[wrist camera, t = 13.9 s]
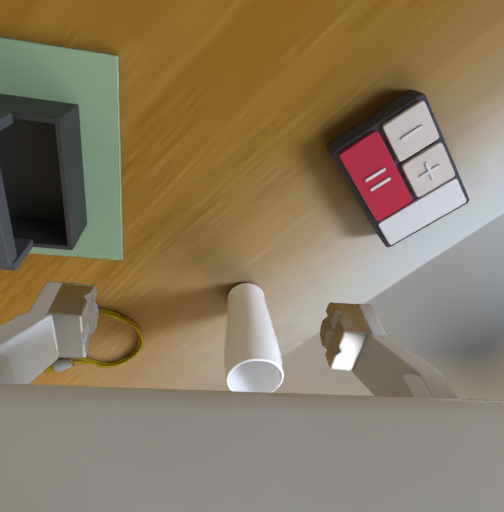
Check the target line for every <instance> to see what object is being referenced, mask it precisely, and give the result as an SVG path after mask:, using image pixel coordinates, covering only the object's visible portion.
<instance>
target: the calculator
mask: <svg viewBox="0 0 504 512" xmlns="http://www.w3.org/2000/svg"><path fill="white" fill-rule="evenodd" d="M327 148H328V151H329V152H330V154H331V156H332V158H333V159H334V161H335V163H336V164H337V166H338V168H339V169H340V171H341V173H342V175H343V176H344V178H345V180H346V181H347V183H348V185H349V186H350V188H351V190H352V192H353V193H354V195H355V197H356V198H357V200H358V202H359V204H360V205H361V207H362V209H363V210H364V212H365V214H366V216H367V218H368V219H369V221H370V223H371V224H372V226H373V228H374V230H375V231H376V233H377V234H378V236H379V237H380V239H381V240H382V242H383V243H384V244H385V246H386V247H391V246H393V245H394V244H396V243H398V242H400V241H401V240H403V239H405V238H407V237H408V236H410V235H412V234H414V233H416V232H417V231H419V230H421V229H423V228H424V227H426V226H428V225H430V224H431V223H433V222H435V221H437V220H438V219H440V218H442V217H444V216H446V215H447V214H449V213H451V212H453V211H454V210H456V209H458V208H460V207H461V206H463V205H465V204H467V203H468V201H469V198H468V195H467V193H466V191H465V188H464V186H463V183H462V181H461V179H460V176H459V174H458V171H457V169H456V167H455V164H454V162H453V160H452V157H451V155H450V152H449V150H448V148H447V145H446V143H445V140H444V138H443V136H442V133H441V131H440V128H439V126H438V124H437V121H436V119H435V117H434V114H433V112H432V109H431V107H430V105H429V102H428V100H427V98H426V95H425V94H423V93H420V92H417V91H414V90H410V91H408V92H407V93H405V94H404V95H402V96H401V97H399V98H398V99H396V100H395V101H393V102H392V103H390V104H389V105H387V106H386V107H384V108H383V109H381V110H380V111H378V112H377V113H375V114H374V115H372V116H371V117H369V118H368V119H366V120H365V121H363V122H362V123H360V124H359V125H357V126H356V127H354V128H353V129H351V130H350V131H348V132H347V133H345V134H344V135H342V136H341V137H339V138H338V139H336V140H335V141H333V142H332V143H330V144H329V145H328V147H327Z"/></svg>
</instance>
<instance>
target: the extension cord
mask: <svg viewBox="0 0 504 512" xmlns="http://www.w3.org/2000/svg"><path fill="white" fill-rule="evenodd" d="M98 315H104V316H109V317H113V318H116V319H119V320H121V321H123V322H125V323H127V324H129V325H130V326H132V327H133V328H134V329H135V330H136V331H137V334H138V345H137V347H136V349H135V351H134V352H133V353H132V354H131V355H130V356H129V357H127V358H125V359H122V360H119V361H117V362H114V363H104V362H99V361H96V360H93V359H90V358H87V357H86V358H79V359H81V360H83V361H74V359H59V360H56V361H55V362H54V363H53V364H51V365H50V366H49V367H48V368H47V369H46V370H45V372H46V373H51V372H59V371H63V370H65V369H67V368H70V367H72V366H74V364H75V363H80V364H92V365H96V366H99V367H114V366H118V365H121V364H123V363H126V362H128V361H129V360H131V359H132V358H134V357H135V356H136V355H137V354H138V353H139V352H140V350H141V349H142V346H143V342H144V340H143V336H142V332H141V330H140V328H139V327H138V326H137V324H135V323H134V322H133V321H132V320H130V319H128V318H126V317H124V316H122V315H120V314H118V313H116V312H113V311H111V310H107V309H99V313H98ZM84 361H86V362H84Z"/></svg>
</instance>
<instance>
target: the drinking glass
mask: <svg viewBox="0 0 504 512" xmlns="http://www.w3.org/2000/svg"><path fill="white" fill-rule="evenodd" d="M227 303H228V309H227V323H226V335H225V348H224V367H225V378H226V384H227V386H228V388H229V389H230V390H231V391H238V392H268V393H272V392H273V391H275V390H276V389H278V388H279V386H280V385H281V384H282V381H283V378H284V373H283V365H282V358H281V353H280V348H279V345H278V341H277V338H276V335H275V331H274V328H273V325H272V322H271V319H270V315H269V312H268V309H267V305H266V302H265V296H264V293H263V291H262V290H261V288H259V287H258V286H257V285H254V284H251V283H242V284H239V285H237V286H235V287H234V288H232V289H231V291H230V292H229V294H228V298H227Z"/></svg>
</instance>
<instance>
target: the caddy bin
mask: <svg viewBox="0 0 504 512" xmlns="http://www.w3.org/2000/svg"><path fill="white" fill-rule="evenodd" d="M86 225H87V213H86V200H85V186H84V173H83V159H82V145H81V132H80V118H79V105H78V104H72V103H64V102H57V101H50V100H43V99H35V98H28V97H21V96H14V95H7V94H0V269H2V270H17V268H18V267H19V266H20V264H21V263H22V262H23V260H24V259H25V257H26V256H27V255H28V253H29V252H30V251H31V249H32V248H33V247H39V248H51V249H63V250H73V249H74V247H75V245H76V243H77V242H78V240H79V238H80V236H81V234H82V233H83V231H84V229H85V227H86Z"/></svg>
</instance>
